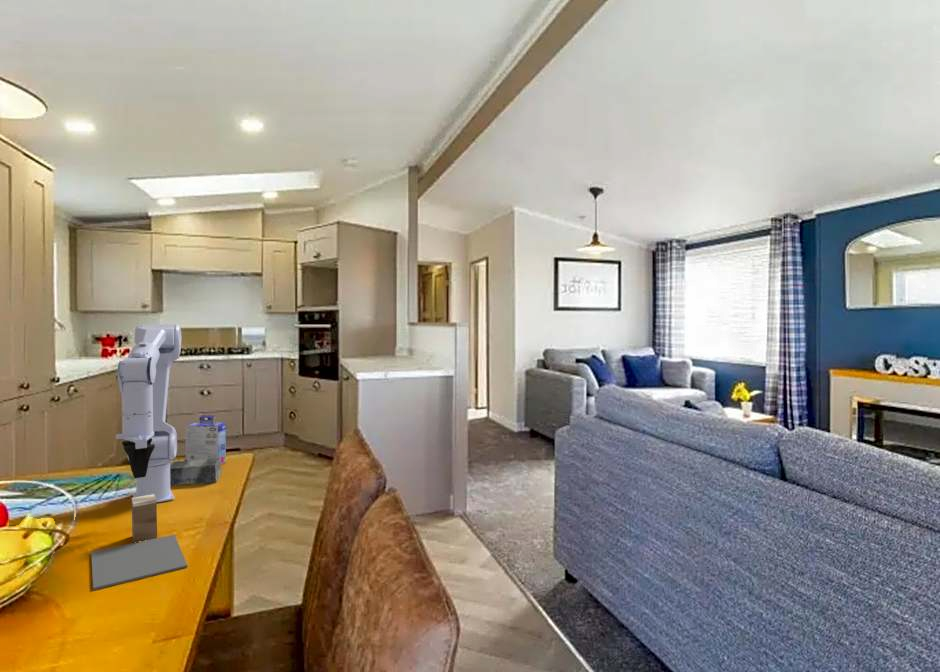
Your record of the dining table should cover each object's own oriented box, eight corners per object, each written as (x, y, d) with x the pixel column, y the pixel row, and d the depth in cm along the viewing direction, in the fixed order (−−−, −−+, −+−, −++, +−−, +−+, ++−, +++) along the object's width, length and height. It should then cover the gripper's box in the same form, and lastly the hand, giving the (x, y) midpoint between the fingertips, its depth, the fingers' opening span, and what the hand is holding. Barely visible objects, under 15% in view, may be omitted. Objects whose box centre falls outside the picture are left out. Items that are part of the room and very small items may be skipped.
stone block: (167, 477, 149) (166, 458, 149) (223, 474, 152) (223, 456, 152) (156, 487, 140) (156, 468, 140) (216, 484, 144) (215, 464, 144)
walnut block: (132, 536, 110) (131, 497, 110) (154, 531, 113) (154, 494, 112) (134, 543, 107) (133, 503, 107) (157, 538, 110) (156, 499, 109)
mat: (91, 554, 102) (91, 551, 102) (174, 536, 111) (174, 534, 111) (93, 590, 89) (93, 588, 89) (187, 567, 98) (187, 565, 98)
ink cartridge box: (227, 461, 163) (226, 414, 163) (219, 467, 158) (218, 418, 157) (194, 461, 163) (193, 414, 162) (185, 467, 158) (184, 418, 157)
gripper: (113, 409, 120) (114, 469, 121) (117, 420, 108) (118, 486, 109) (150, 406, 124) (151, 464, 125) (157, 416, 113) (158, 480, 113)
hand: (138, 474), depth 117 cm, fingers open, 4 cm apart
